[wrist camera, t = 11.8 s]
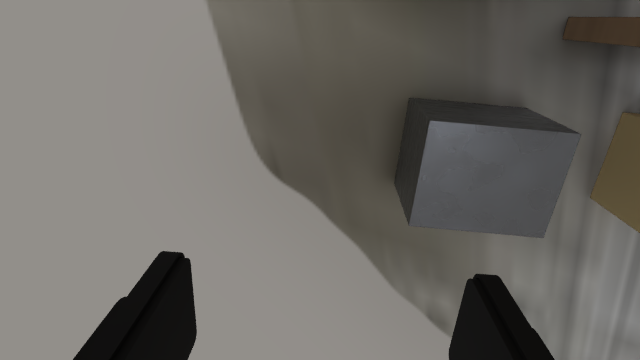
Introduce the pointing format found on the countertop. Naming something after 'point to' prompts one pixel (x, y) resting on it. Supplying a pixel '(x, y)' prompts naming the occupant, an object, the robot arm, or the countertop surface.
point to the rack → (604, 30)
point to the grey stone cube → (481, 167)
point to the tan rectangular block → (622, 173)
